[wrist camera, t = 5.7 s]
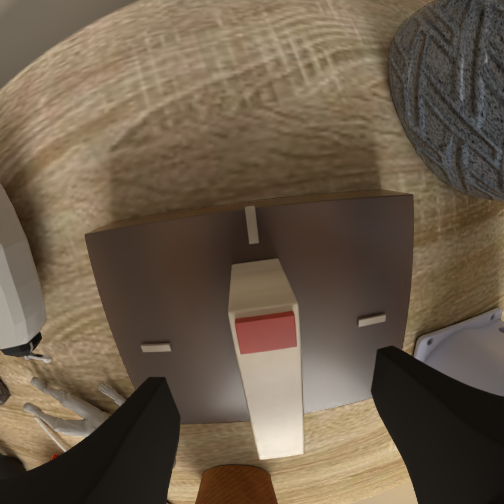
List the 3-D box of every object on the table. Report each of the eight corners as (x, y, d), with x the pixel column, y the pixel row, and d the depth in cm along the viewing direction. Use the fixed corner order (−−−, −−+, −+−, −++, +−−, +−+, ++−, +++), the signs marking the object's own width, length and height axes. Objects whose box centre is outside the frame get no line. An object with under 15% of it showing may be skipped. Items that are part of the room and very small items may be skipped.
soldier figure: (42, 343, 16) (171, 416, 13) (77, 360, 20) (195, 417, 17) (16, 425, 12) (137, 518, 9) (54, 431, 16) (167, 501, 14)
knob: (290, 391, 13) (305, 458, 9) (254, 396, 13) (259, 465, 9) (278, 257, 11) (300, 306, 7) (231, 264, 11) (227, 316, 7)
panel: (382, 187, 13) (415, 192, 10) (374, 364, 16) (394, 394, 13) (111, 220, 13) (81, 232, 10) (161, 392, 16) (151, 426, 13)
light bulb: (13, 489, 19) (-15, 480, 13) (14, 459, 24) (-13, 445, 18) (43, 500, 21) (18, 495, 15) (43, 470, 25) (19, 459, 20)
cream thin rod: (28, 420, 17) (34, 421, 16) (37, 411, 18) (43, 411, 18) (91, 484, 18) (99, 487, 18) (98, 475, 20) (106, 477, 19)
